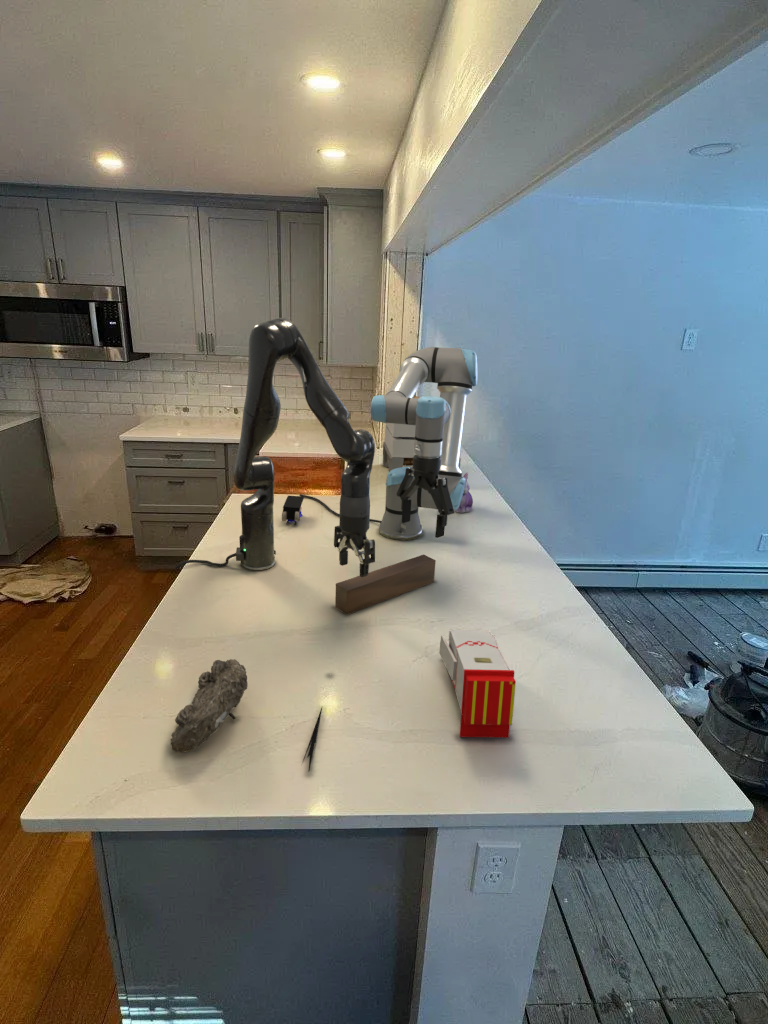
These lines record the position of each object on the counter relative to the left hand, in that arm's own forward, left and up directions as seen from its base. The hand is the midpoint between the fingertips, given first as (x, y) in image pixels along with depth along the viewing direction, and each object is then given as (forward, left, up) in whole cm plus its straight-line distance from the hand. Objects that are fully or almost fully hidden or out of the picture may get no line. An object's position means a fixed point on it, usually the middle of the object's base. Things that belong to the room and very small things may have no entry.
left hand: (353, 570), depth 146 cm
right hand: (+14, +20, +6) cm, 25 cm away
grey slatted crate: (-6, +135, -11) cm, 135 cm away
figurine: (+20, +89, -11) cm, 92 cm away
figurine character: (-39, +54, -11) cm, 68 cm away
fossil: (-13, -48, -11) cm, 51 cm away
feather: (+6, -43, -11) cm, 45 cm away
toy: (+34, -26, -11) cm, 44 cm away
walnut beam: (+7, +10, -11) cm, 16 cm away
